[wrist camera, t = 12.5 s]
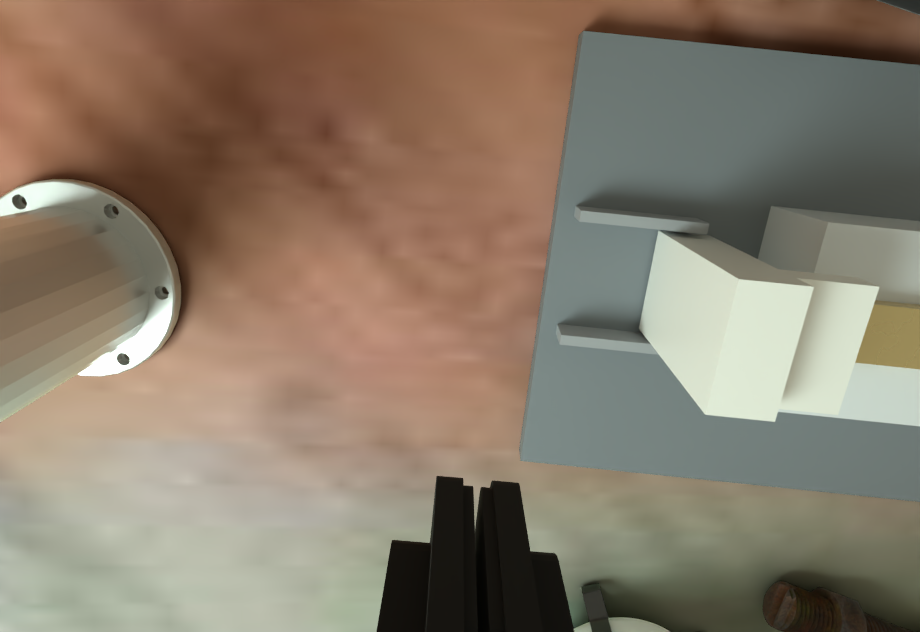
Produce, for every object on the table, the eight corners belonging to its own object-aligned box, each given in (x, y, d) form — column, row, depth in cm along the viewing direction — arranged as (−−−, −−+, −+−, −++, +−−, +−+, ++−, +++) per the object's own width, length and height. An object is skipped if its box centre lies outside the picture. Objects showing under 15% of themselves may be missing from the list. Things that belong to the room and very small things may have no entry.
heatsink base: (519, 449, 41) (530, 540, 32) (579, 34, 33) (616, 1, 24) (970, 495, 41) (1108, 600, 32) (1139, 91, 33) (1386, 80, 24)
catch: (638, 328, 36) (705, 414, 26) (658, 230, 35) (738, 279, 24) (745, 339, 36) (856, 430, 26) (770, 242, 35) (901, 295, 24)
